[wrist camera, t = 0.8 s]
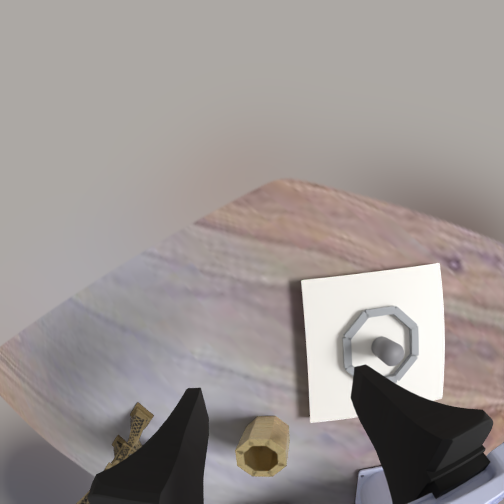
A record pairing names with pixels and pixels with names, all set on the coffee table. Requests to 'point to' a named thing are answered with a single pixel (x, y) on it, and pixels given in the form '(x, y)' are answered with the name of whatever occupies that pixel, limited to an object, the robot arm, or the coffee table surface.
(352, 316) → the post board
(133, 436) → the eiffel tower
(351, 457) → the coffee table surface
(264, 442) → the collar
